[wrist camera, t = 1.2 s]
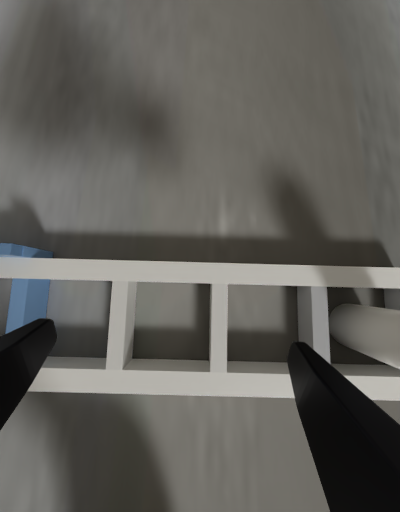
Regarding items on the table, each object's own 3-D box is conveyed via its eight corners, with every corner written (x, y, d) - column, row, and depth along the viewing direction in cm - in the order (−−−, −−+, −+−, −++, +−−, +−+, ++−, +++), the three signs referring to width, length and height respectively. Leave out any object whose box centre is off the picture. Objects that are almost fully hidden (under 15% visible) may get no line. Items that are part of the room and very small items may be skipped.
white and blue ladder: (405, 385, 22) (467, 416, 17) (-68, 373, 22) (-149, 401, 17) (394, 261, 24) (448, 255, 19) (-47, 249, 24) (-115, 240, 19)
